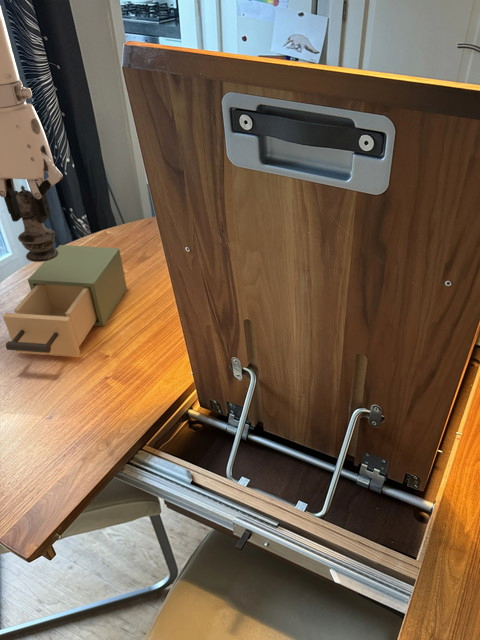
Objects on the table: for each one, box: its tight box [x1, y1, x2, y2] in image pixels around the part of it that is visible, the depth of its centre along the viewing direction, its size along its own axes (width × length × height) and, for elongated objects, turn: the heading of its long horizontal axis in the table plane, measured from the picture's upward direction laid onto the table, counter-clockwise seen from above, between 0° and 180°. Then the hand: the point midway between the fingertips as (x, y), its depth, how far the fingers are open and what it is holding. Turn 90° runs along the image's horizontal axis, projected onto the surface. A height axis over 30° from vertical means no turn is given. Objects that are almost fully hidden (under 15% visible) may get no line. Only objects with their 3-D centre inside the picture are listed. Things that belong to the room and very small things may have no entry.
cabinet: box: [27, 244, 128, 327], centre depth 104 cm, size 15×13×10 cm
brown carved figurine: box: [16, 184, 59, 263], centre depth 85 cm, size 6×6×12 cm
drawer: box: [2, 284, 98, 358], centre depth 93 cm, size 18×11×8 cm, turn 175°
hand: (31, 218), depth 85 cm, fingers closed on brown carved figurine, 3 cm apart
